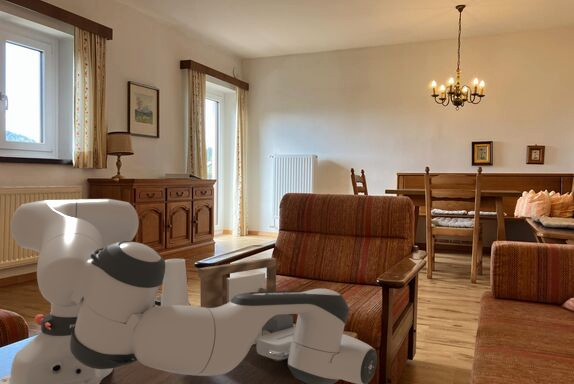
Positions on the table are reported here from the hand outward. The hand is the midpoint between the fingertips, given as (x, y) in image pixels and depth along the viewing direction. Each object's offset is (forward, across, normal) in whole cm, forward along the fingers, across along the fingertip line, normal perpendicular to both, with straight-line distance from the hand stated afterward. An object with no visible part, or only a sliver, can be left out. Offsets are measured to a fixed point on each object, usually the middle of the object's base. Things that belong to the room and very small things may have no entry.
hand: (275, 330), depth 115 cm
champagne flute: (+14, -20, -6) cm, 25 cm away
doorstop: (-1, 0, -6) cm, 6 cm away
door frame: (+9, -4, -6) cm, 12 cm away
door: (+8, -2, -6) cm, 10 cm away
